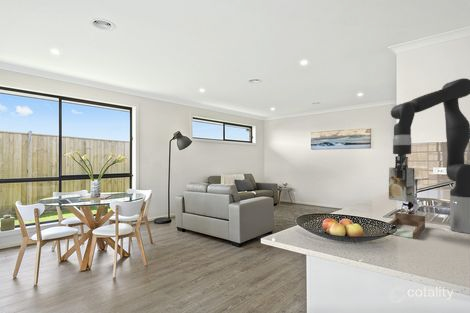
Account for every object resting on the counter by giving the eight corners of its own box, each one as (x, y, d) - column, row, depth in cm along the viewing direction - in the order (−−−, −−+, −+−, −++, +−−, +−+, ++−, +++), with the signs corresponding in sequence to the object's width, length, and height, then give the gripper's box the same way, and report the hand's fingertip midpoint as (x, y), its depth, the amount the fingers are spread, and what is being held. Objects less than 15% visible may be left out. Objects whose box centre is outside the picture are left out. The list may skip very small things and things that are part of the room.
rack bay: (425, 227, 133) (425, 215, 133) (416, 239, 113) (416, 225, 113) (395, 223, 142) (395, 212, 142) (382, 233, 122) (382, 220, 122)
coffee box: (414, 201, 122) (415, 168, 122) (406, 202, 119) (407, 168, 119) (396, 198, 130) (396, 167, 130) (387, 199, 128) (388, 167, 128)
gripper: (407, 143, 117) (407, 178, 117) (414, 145, 127) (413, 177, 127) (389, 144, 122) (388, 177, 122) (396, 145, 133) (396, 176, 132)
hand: (401, 177), depth 125 cm, fingers closed on coffee box, 8 cm apart
